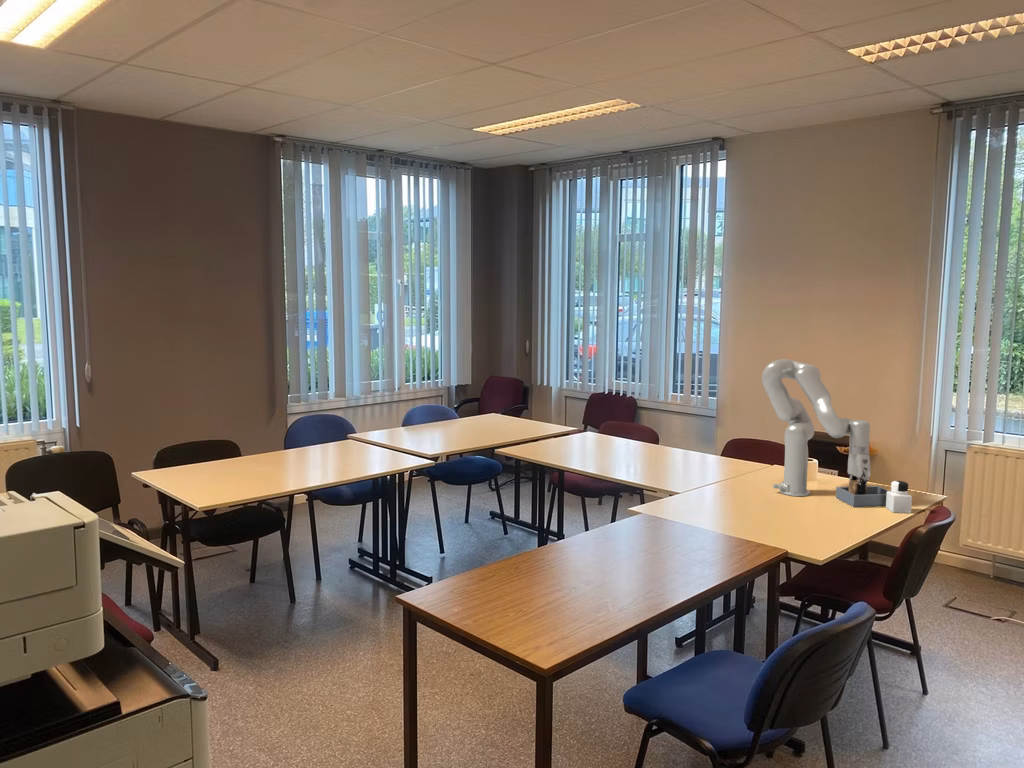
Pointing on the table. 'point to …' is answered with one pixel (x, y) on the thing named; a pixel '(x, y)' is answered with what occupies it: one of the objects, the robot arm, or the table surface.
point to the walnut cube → (855, 487)
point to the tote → (863, 496)
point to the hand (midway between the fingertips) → (857, 491)
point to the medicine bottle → (899, 498)
